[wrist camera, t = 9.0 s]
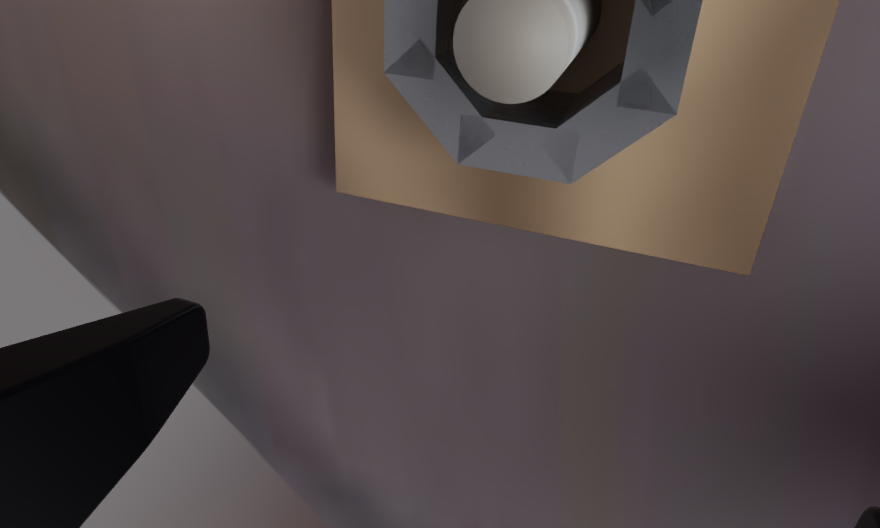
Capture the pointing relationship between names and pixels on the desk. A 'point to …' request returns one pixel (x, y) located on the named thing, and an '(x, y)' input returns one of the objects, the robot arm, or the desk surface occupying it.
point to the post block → (572, 70)
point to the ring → (551, 114)
